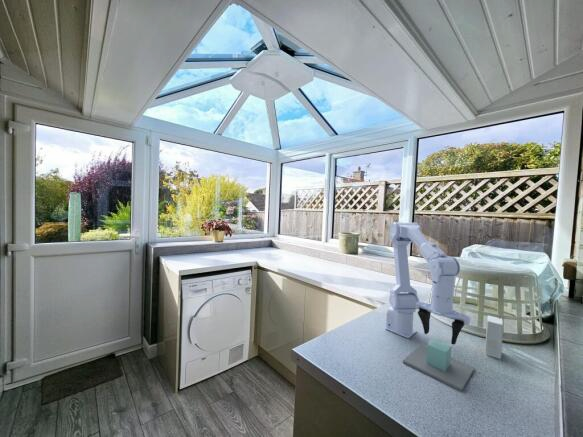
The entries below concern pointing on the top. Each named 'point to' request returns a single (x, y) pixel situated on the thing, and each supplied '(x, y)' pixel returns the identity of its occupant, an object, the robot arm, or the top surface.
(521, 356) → the top surface
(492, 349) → the skincare box
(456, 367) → the post board
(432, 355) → the mint green cube
